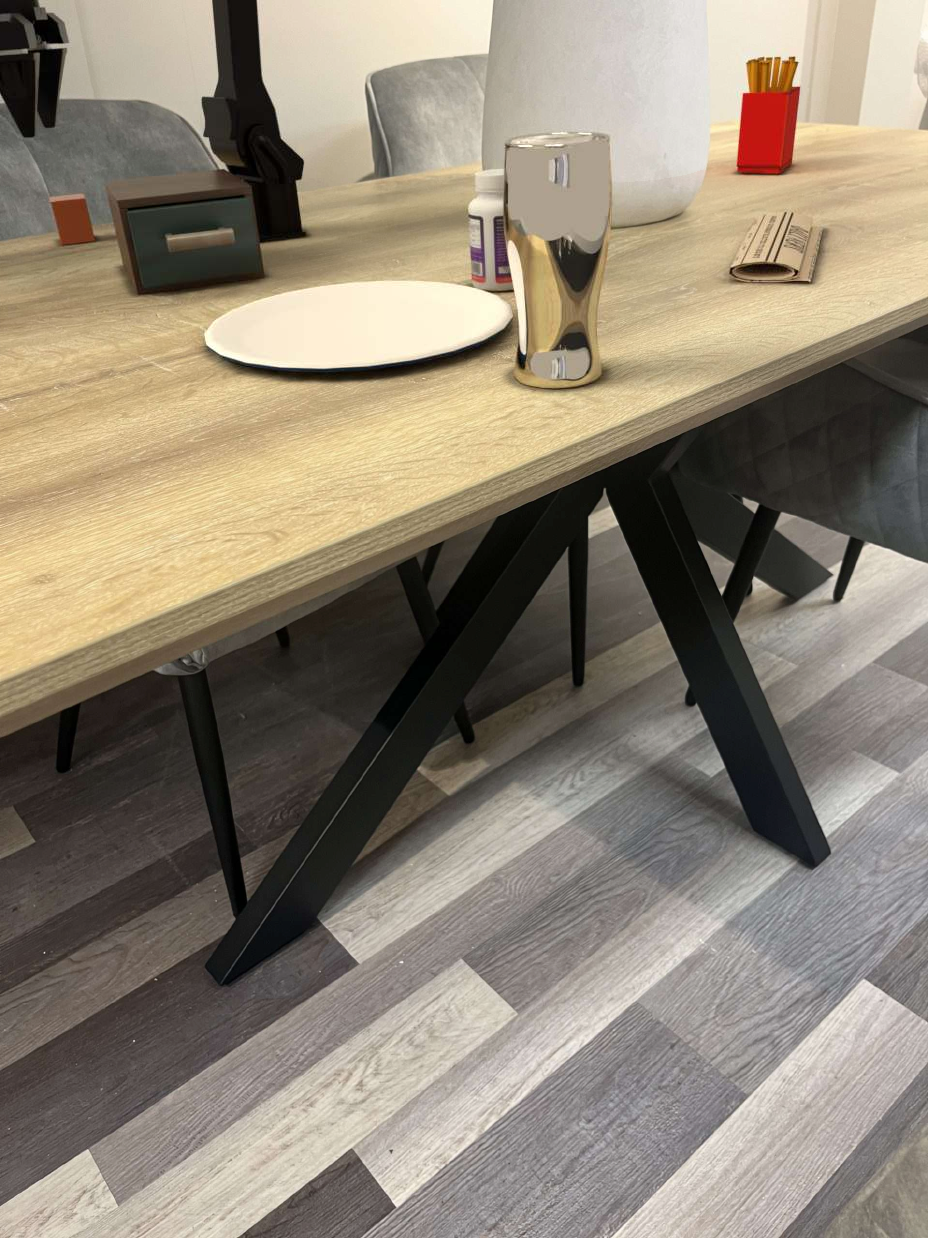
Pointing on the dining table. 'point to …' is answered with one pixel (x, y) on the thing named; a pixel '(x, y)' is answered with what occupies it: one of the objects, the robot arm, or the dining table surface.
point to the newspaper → (778, 249)
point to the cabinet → (168, 192)
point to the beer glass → (557, 251)
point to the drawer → (194, 240)
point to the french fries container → (768, 117)
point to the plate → (358, 326)
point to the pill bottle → (488, 234)
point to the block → (72, 219)
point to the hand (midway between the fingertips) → (40, 132)
